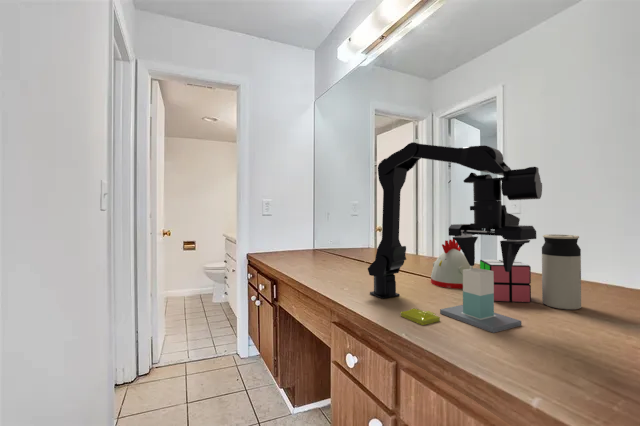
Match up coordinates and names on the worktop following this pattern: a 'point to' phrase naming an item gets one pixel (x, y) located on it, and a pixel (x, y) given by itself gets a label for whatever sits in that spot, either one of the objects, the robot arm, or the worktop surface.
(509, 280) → the puzzle cube
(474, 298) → the teal block
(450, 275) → the kitchen timer
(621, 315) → the worktop surface
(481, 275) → the cream block
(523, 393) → the worktop surface
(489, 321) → the slate plate
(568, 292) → the travel mug
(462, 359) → the worktop surface
